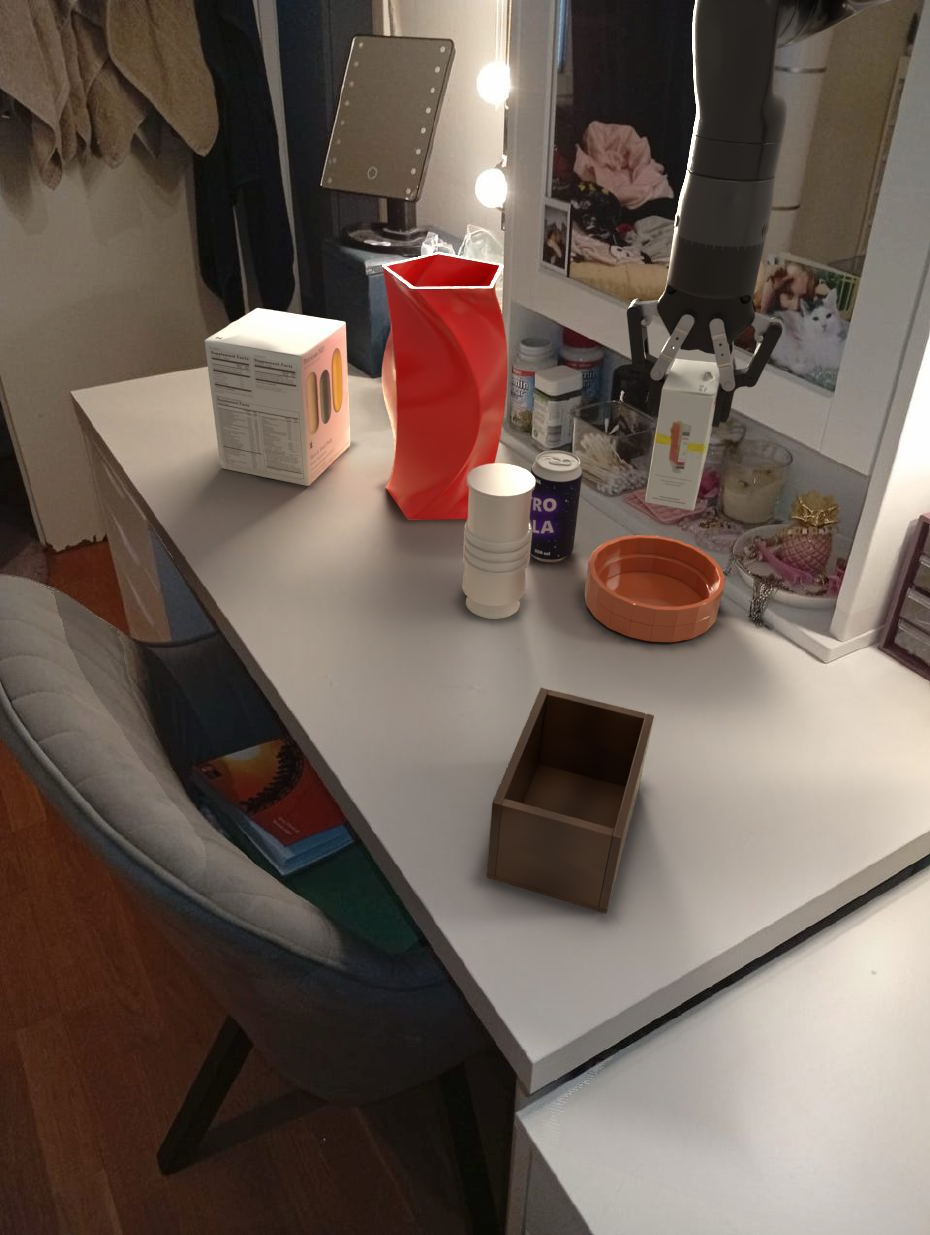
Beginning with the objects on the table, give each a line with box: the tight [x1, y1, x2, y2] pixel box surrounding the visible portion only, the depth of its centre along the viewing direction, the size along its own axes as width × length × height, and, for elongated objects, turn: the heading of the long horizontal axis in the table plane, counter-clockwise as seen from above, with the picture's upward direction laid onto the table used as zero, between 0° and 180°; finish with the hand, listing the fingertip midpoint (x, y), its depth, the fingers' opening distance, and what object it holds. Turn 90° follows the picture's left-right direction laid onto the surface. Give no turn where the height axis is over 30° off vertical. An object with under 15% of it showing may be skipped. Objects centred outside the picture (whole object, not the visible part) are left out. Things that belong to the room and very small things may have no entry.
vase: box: [381, 252, 509, 521], centre depth 111 cm, size 15×14×28 cm
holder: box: [486, 687, 655, 914], centre depth 73 cm, size 9×13×8 cm
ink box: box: [644, 357, 721, 512], centre depth 89 cm, size 9×5×12 cm, turn 162°
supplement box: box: [204, 307, 351, 487], centre depth 121 cm, size 13×13×18 cm
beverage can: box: [529, 449, 584, 563], centre depth 105 cm, size 6×6×12 cm
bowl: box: [583, 534, 726, 643], centre depth 100 cm, size 14×14×4 cm
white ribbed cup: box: [461, 462, 535, 620], centre depth 96 cm, size 7×7×15 cm
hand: (686, 418), depth 88 cm, fingers closed on ink box, 5 cm apart
